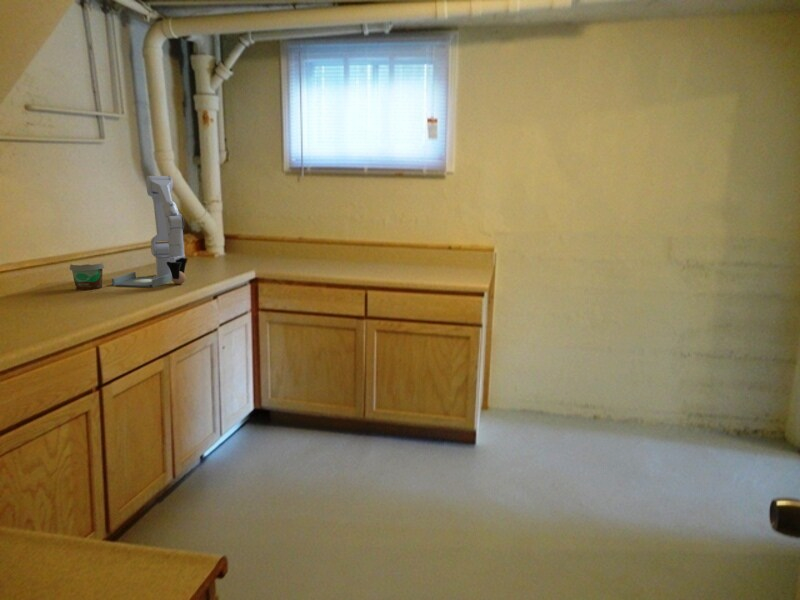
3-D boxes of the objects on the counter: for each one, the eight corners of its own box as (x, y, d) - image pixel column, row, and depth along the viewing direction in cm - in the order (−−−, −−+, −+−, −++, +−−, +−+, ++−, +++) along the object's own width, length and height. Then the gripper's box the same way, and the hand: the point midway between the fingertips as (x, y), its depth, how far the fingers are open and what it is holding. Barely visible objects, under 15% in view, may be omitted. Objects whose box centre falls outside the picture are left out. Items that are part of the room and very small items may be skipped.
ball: (175, 282, 245) (174, 269, 244) (188, 283, 244) (187, 270, 243) (169, 285, 240) (168, 272, 238) (182, 285, 239) (181, 272, 238)
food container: (68, 291, 225) (65, 266, 223) (72, 288, 231) (69, 263, 228) (102, 290, 228) (100, 265, 226) (106, 287, 234) (103, 262, 232)
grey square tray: (133, 278, 252) (133, 272, 251) (173, 280, 250) (172, 273, 250) (112, 285, 237) (111, 278, 236) (154, 287, 235) (153, 279, 234)
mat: (139, 278, 253) (139, 276, 253) (170, 279, 251) (169, 277, 251) (115, 286, 235) (115, 284, 235) (148, 287, 234) (148, 285, 234)
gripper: (171, 242, 245) (173, 274, 248) (160, 246, 231) (163, 280, 234) (188, 242, 246) (190, 274, 249) (179, 246, 232) (181, 280, 234)
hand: (178, 277), depth 241 cm, fingers open, 7 cm apart
